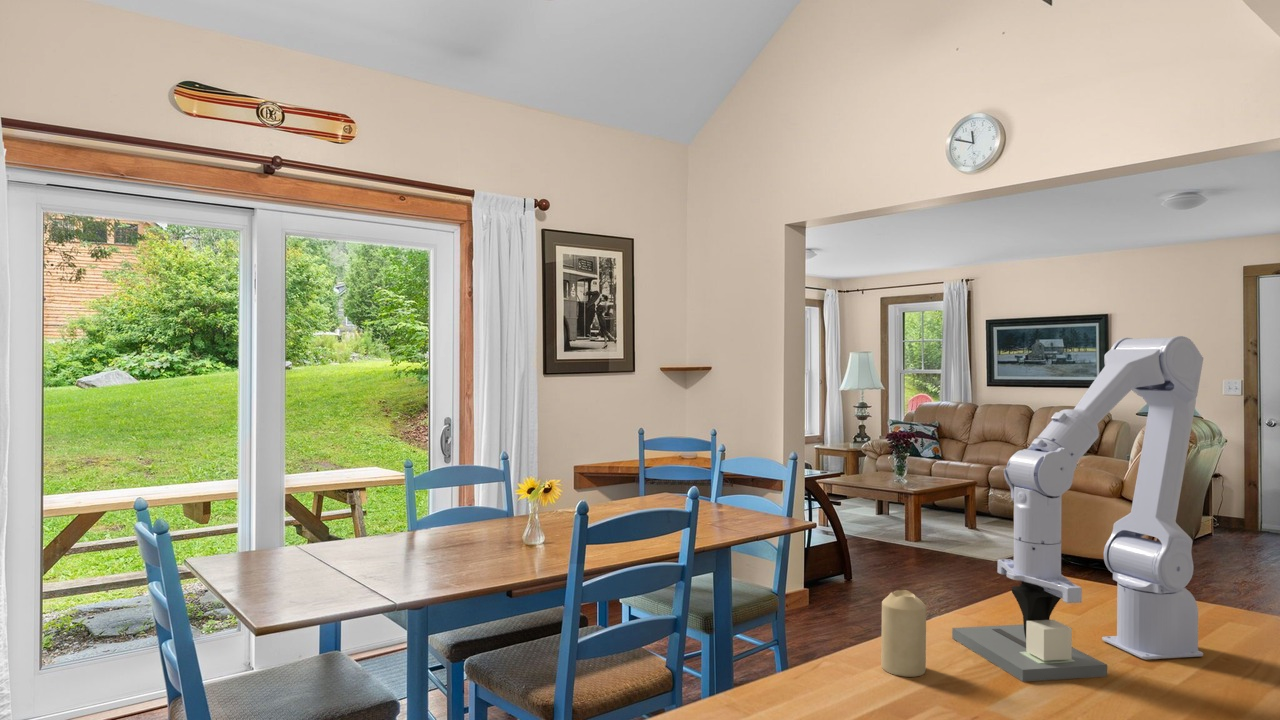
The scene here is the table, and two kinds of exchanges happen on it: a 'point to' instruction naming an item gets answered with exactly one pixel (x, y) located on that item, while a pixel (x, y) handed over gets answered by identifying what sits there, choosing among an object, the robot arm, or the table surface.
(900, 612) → the candle
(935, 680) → the table surface
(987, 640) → the slider board
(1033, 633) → the knob
